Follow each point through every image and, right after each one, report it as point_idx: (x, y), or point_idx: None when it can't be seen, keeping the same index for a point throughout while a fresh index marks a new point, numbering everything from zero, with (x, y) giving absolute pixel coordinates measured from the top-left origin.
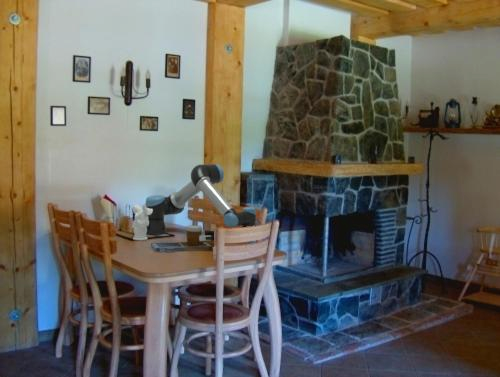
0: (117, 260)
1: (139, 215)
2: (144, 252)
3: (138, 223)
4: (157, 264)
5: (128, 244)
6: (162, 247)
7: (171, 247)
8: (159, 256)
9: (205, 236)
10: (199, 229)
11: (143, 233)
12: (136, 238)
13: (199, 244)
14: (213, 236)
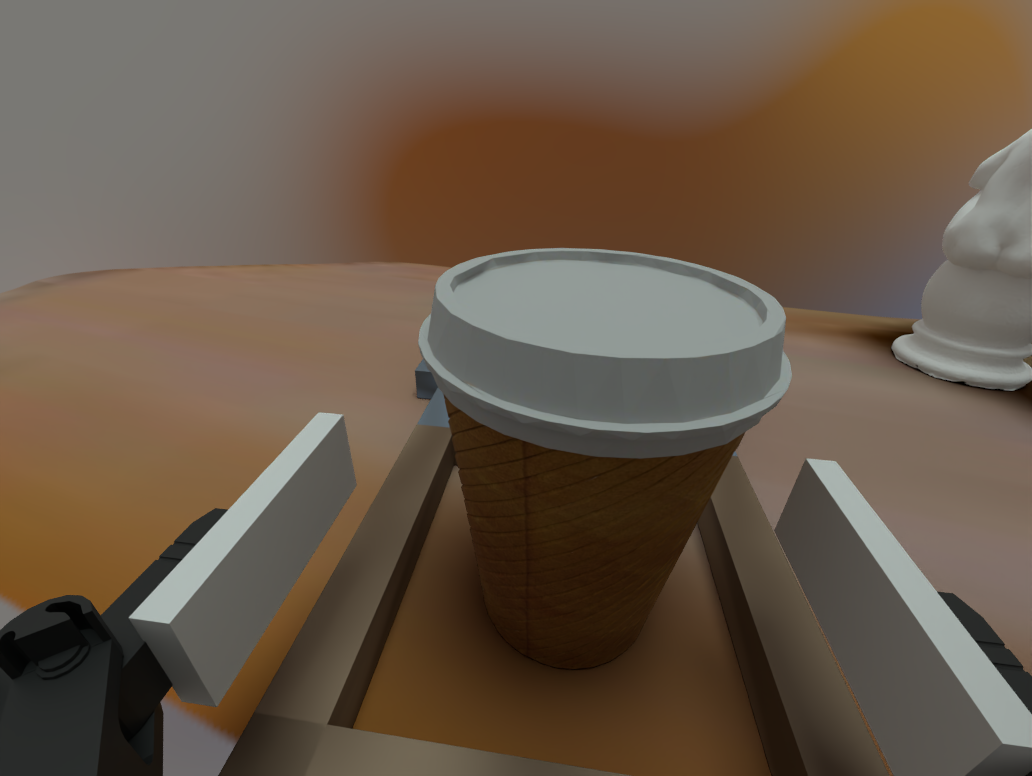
0: (384, 263)
1: (1003, 160)
2: None
3: (946, 228)
4: (195, 300)
5: None
6: None
7: None
8: (351, 330)
9: (252, 501)
10: (434, 342)
11: (945, 322)
12: (900, 337)
13: (510, 614)
14: (15, 685)
